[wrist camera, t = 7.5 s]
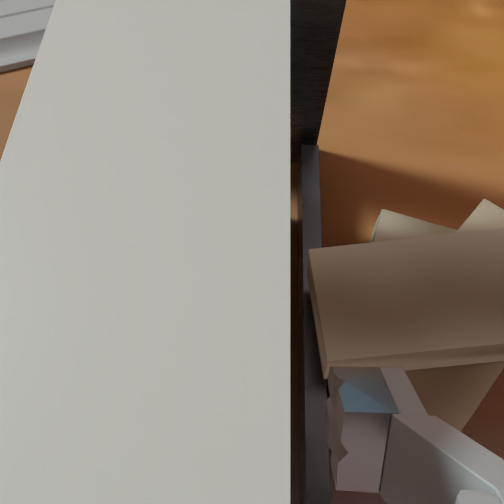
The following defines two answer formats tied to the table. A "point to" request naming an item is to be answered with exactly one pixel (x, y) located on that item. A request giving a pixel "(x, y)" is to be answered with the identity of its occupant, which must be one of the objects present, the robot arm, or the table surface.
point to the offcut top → (410, 301)
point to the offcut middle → (462, 376)
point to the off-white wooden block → (149, 258)
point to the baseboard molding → (22, 31)
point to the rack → (310, 219)
